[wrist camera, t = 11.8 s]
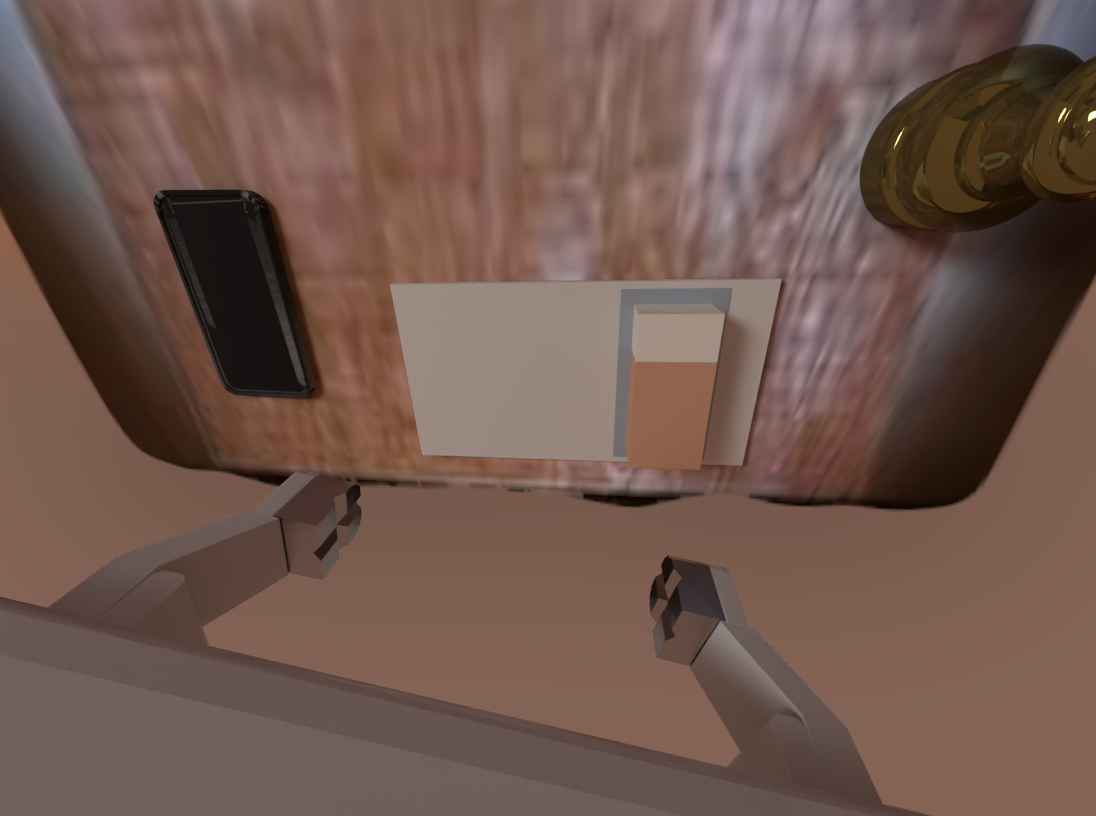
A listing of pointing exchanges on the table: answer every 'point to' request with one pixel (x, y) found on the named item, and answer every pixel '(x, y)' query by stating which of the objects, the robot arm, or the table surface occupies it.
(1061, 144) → the olive green vase
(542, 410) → the mat
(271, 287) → the phone
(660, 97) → the table surface
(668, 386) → the two-tone tall block
